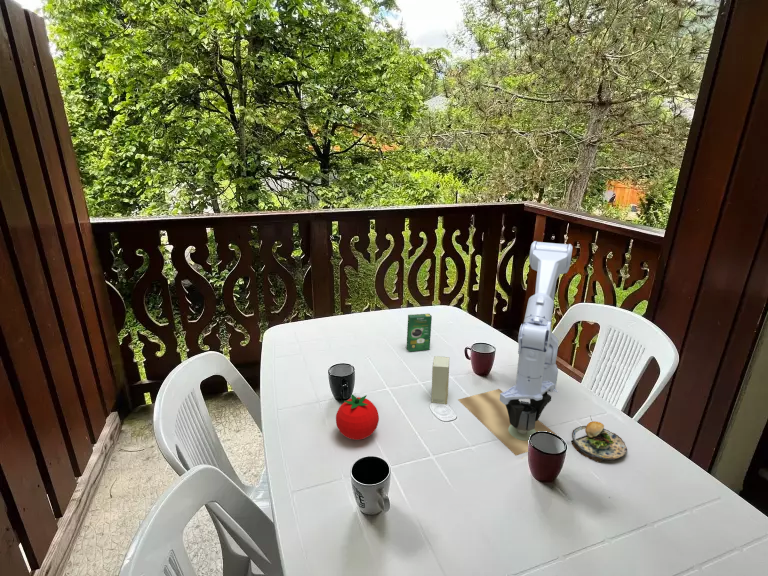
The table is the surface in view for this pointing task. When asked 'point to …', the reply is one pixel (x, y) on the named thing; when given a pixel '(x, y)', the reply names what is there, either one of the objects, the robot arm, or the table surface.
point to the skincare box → (440, 380)
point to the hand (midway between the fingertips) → (523, 421)
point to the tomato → (357, 418)
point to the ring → (527, 417)
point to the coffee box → (418, 332)
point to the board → (500, 420)
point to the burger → (598, 443)
